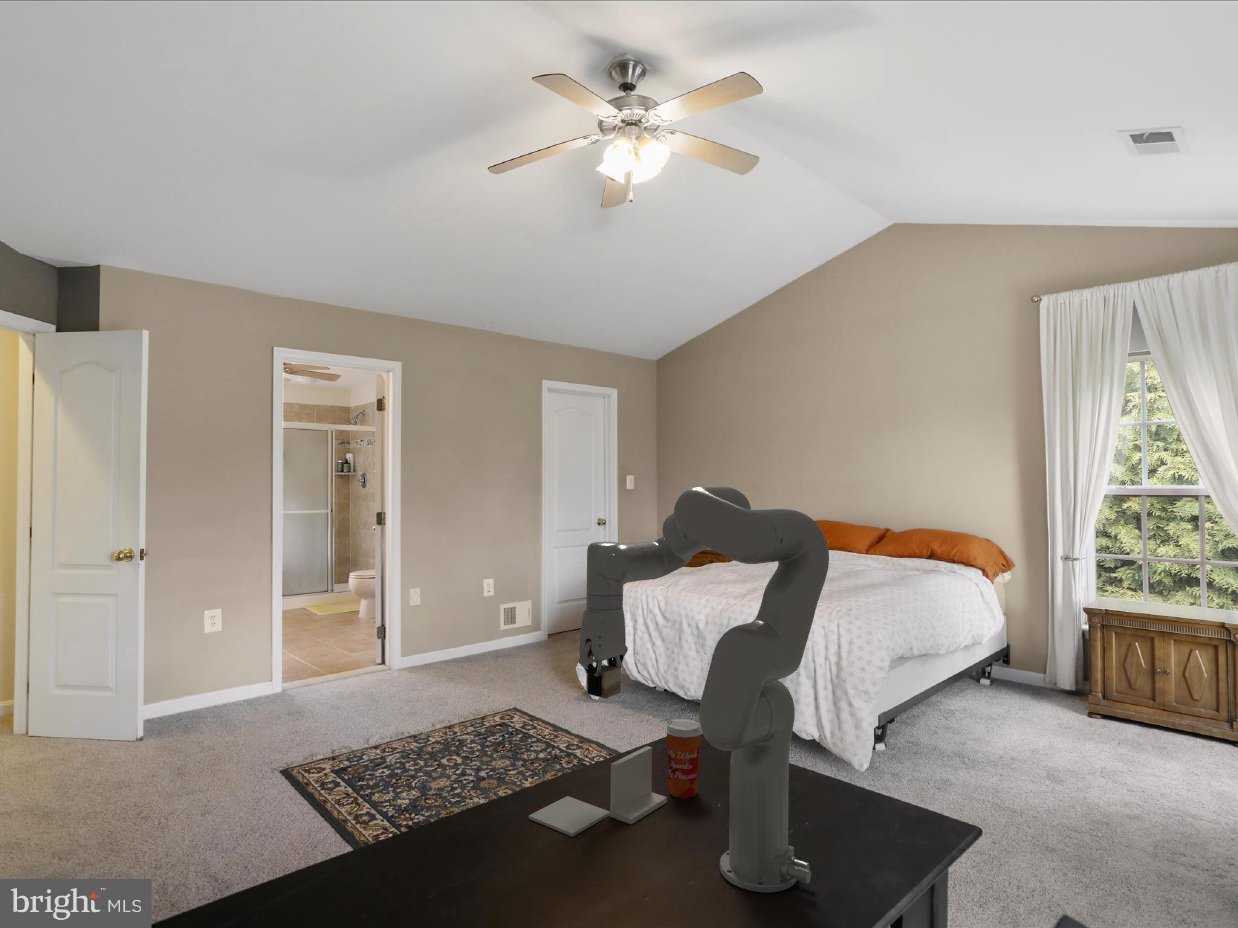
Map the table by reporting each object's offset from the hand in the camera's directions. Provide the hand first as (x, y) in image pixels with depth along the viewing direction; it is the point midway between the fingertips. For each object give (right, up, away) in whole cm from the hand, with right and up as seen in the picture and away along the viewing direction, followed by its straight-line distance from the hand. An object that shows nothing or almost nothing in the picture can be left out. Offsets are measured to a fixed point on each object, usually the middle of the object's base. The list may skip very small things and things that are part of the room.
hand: (603, 690), depth 146 cm
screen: (+7, -21, -6) cm, 23 cm away
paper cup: (+17, -22, +2) cm, 27 cm away
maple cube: (0, -1, 0) cm, 1 cm away
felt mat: (-6, -21, -10) cm, 24 cm away
